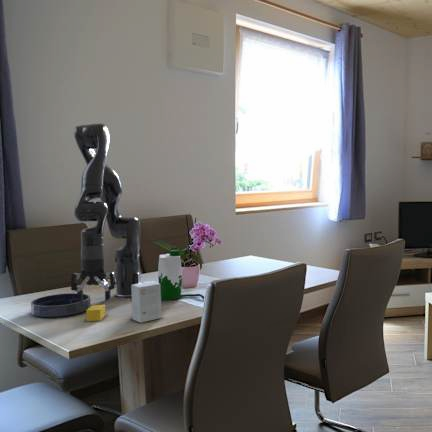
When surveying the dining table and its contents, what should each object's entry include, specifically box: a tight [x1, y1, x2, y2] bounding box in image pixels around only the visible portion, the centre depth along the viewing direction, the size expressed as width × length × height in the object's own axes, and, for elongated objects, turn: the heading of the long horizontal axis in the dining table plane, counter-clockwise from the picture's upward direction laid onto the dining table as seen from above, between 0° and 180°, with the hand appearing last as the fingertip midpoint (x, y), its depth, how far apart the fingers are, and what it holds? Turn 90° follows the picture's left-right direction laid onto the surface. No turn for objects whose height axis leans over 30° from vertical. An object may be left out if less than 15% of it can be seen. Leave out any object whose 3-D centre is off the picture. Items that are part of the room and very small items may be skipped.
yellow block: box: [85, 304, 106, 322], centre depth 200 cm, size 7×5×4 cm, turn 13°
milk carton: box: [157, 249, 183, 301], centre depth 229 cm, size 9×9×20 cm
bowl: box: [30, 292, 91, 318], centre depth 208 cm, size 19×19×4 cm
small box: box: [131, 280, 163, 324], centre depth 199 cm, size 8×6×13 cm
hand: (94, 301), depth 199 cm, fingers open, 8 cm apart
